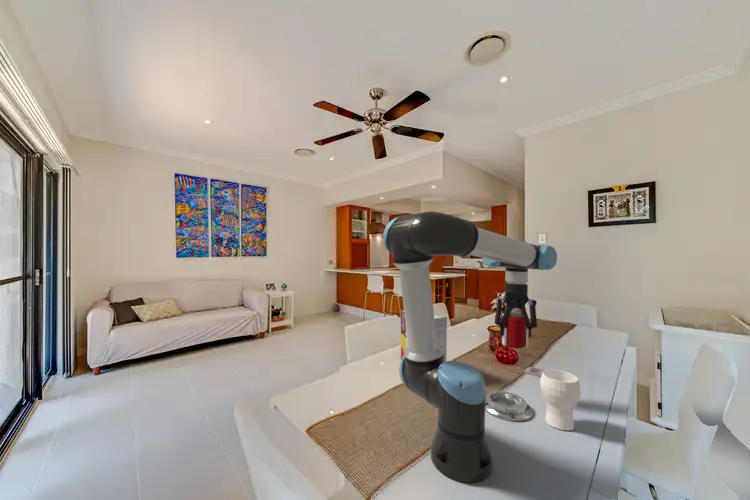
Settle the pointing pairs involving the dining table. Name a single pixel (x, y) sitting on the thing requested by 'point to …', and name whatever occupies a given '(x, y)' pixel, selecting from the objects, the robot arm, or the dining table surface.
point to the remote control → (534, 371)
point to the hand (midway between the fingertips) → (514, 345)
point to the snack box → (440, 333)
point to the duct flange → (507, 406)
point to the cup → (560, 397)
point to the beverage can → (516, 330)
